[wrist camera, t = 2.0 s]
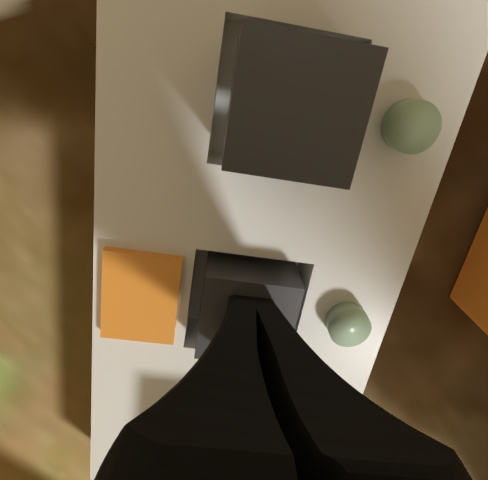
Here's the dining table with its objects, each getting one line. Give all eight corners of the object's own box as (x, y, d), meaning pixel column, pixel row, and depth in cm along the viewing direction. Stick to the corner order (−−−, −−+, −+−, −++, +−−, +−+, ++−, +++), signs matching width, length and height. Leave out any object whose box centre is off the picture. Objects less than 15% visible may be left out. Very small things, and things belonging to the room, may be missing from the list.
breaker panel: (461, -29, 12) (546, -66, 9) (303, 466, 20) (317, 538, 17) (129, -100, 11) (89, -171, 8) (108, 452, 19) (85, 525, 16)
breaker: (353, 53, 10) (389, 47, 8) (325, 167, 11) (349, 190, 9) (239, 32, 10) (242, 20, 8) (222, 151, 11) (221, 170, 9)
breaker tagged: (292, 255, 14) (304, 288, 12) (276, 324, 15) (284, 367, 13) (209, 244, 14) (205, 276, 11) (199, 315, 15) (194, 358, 12)
